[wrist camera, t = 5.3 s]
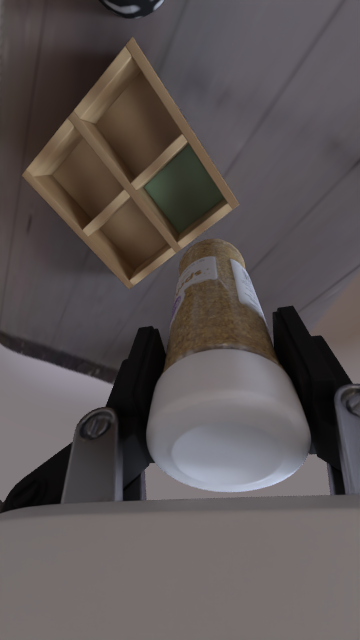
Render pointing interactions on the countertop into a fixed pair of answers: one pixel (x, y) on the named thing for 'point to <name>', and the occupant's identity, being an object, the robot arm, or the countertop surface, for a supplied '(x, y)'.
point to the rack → (130, 171)
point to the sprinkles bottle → (223, 384)
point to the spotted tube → (132, 7)
